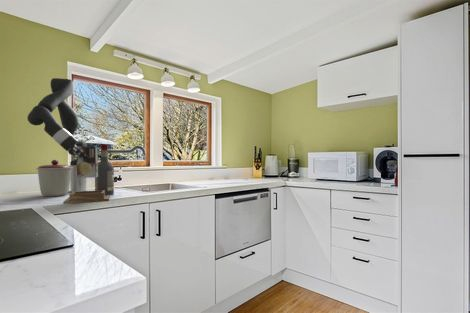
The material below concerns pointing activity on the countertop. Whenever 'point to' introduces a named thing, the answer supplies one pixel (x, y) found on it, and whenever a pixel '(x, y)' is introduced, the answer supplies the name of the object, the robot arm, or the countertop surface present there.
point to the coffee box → (88, 168)
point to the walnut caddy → (87, 196)
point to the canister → (54, 179)
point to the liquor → (105, 173)
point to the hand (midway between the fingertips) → (91, 162)
